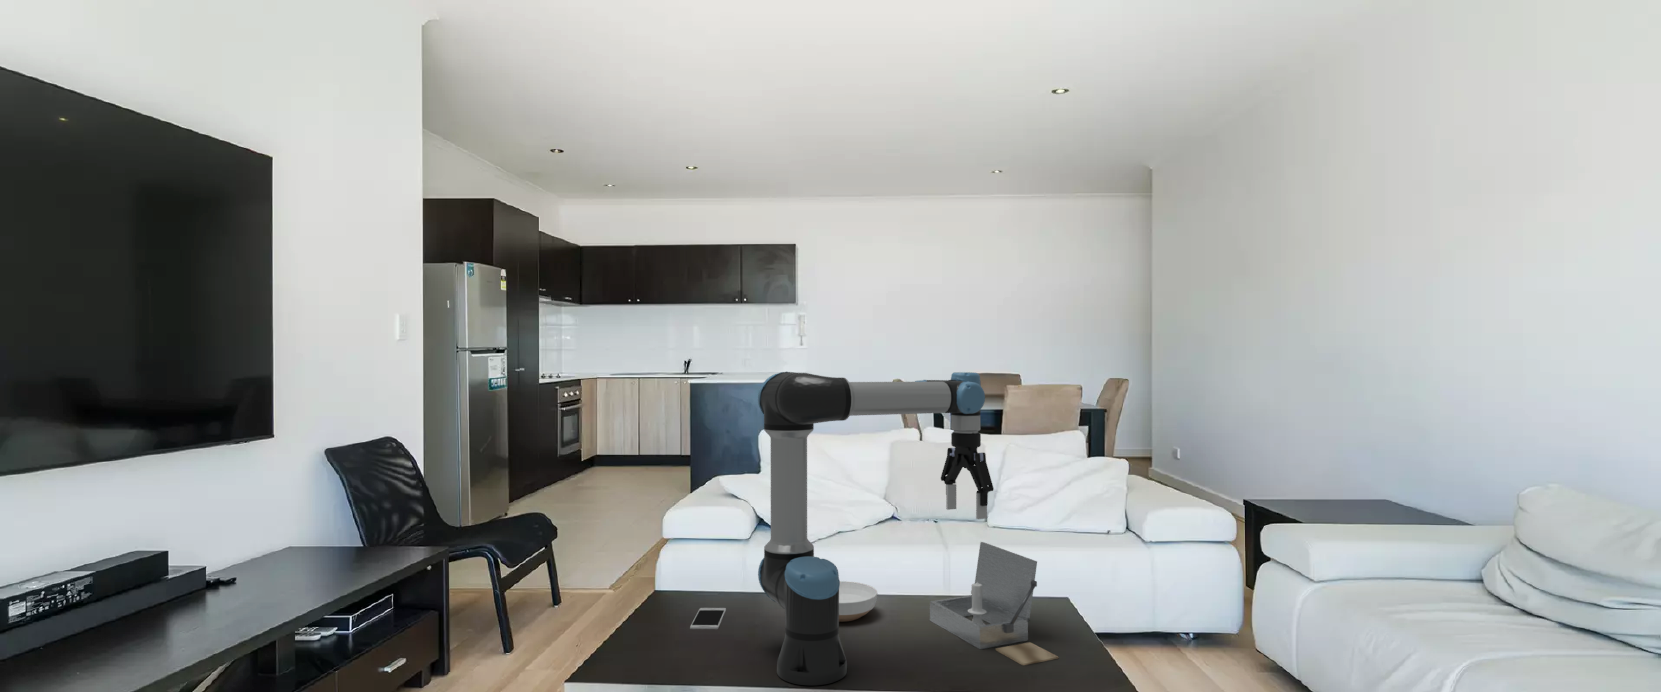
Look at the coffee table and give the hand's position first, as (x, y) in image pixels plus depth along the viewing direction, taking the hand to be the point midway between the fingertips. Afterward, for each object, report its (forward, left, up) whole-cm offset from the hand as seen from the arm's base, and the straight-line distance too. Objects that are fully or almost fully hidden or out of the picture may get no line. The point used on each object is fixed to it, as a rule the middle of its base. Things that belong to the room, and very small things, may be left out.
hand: (966, 513), depth 201 cm
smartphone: (-60, +30, -28) cm, 73 cm away
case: (0, -7, -28) cm, 29 cm away
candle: (-1, -6, -28) cm, 29 cm away
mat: (0, -24, -28) cm, 37 cm away
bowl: (-27, +19, -28) cm, 43 cm away
